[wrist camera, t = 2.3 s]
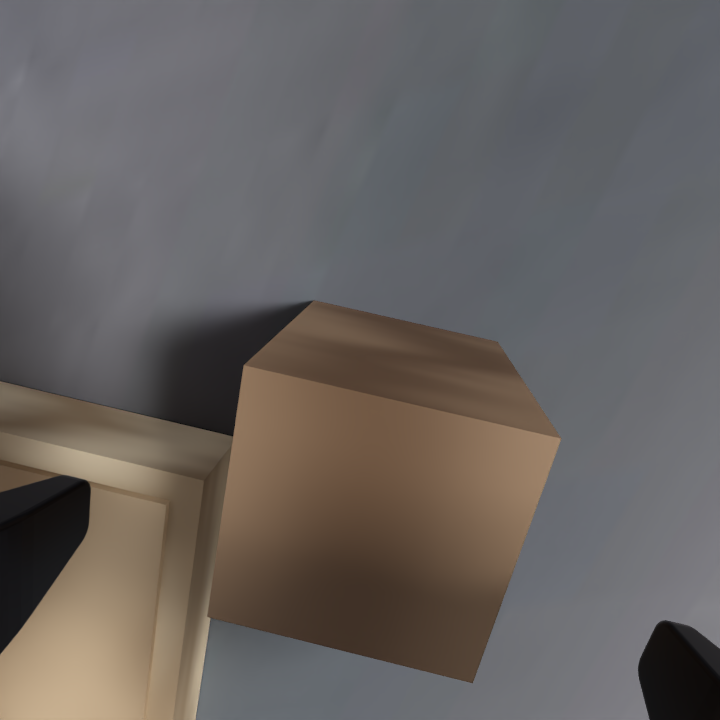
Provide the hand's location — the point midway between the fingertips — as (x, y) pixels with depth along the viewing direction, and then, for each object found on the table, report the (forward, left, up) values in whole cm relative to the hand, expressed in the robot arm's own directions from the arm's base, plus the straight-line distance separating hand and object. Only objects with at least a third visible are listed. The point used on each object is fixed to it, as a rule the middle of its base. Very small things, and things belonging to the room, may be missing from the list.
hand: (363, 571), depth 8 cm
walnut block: (0, 0, -7) cm, 7 cm away
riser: (+10, +8, -7) cm, 14 cm away
